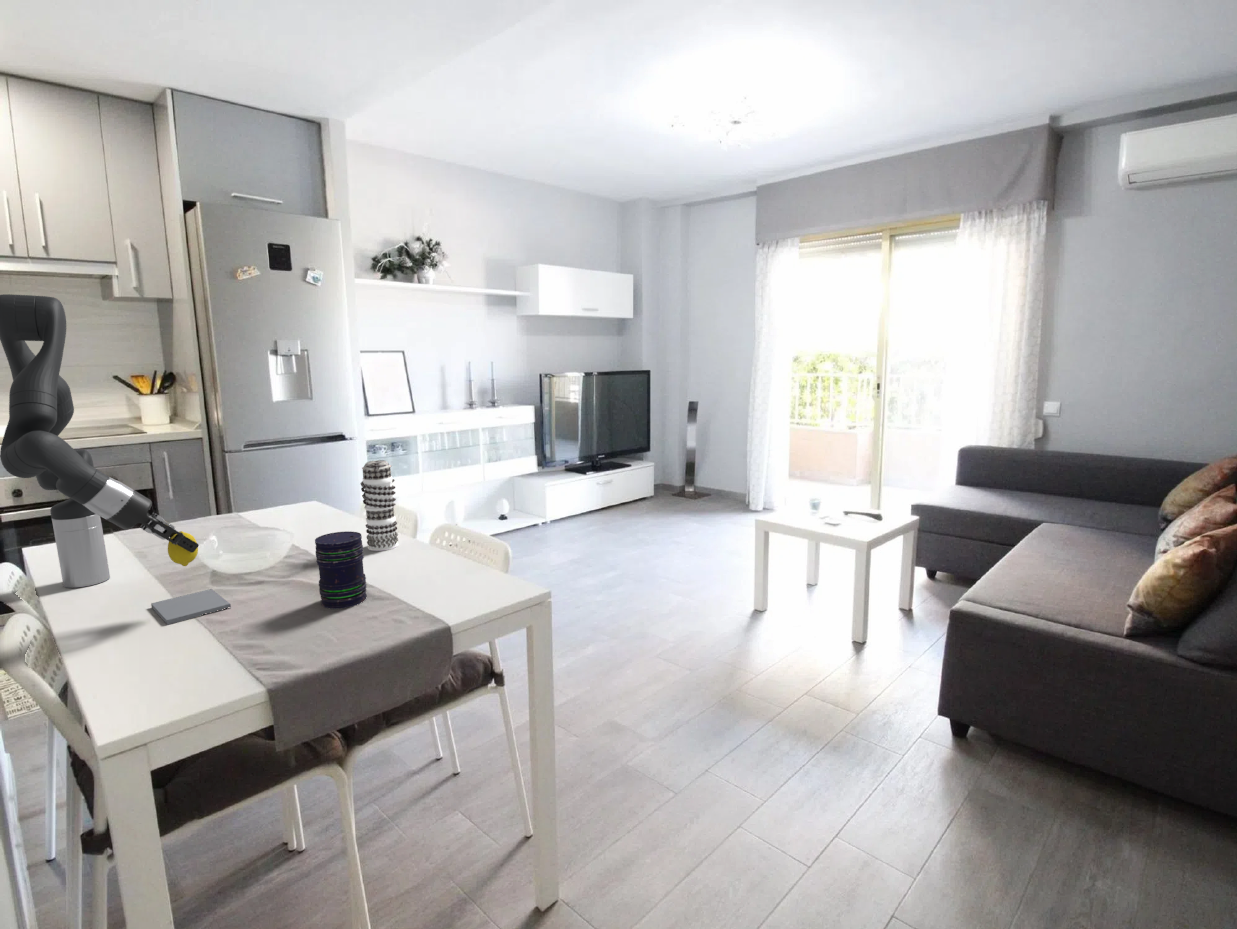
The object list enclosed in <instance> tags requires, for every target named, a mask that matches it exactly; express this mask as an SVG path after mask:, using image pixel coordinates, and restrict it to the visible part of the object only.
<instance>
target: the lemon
mask: <svg viewBox="0 0 1237 929" xmlns="http://www.w3.org/2000/svg"><path fill="white" fill-rule="evenodd" d="M178 532H180V533H183V535H184V536H186V537H187V538H189V539H191V540H192V541H194V542H196V543H197V540H196V538H195V537H194V535H192V534H191V533H188V532H184V531H183V530H180V531H178ZM176 535H177V534H175V535H174V536H172V537H171V539H173V538H174V537H175V536H176ZM197 544H198V543H197ZM198 553H199V547H198V548H197V549H196V550H195V551H194V552H192V553H191V552H189V551H187V550H186V549H184V548H182V547H180V546H179V545H175V544H172V542H170V541H168V544H167V554H168V557H169V558H170V560H171V561H172V562H173V563H175V564H178V565H181V566H182V567H187V566H188V565H189V564H190V563H192V562H193V561H194V560H195V559H196V558H197V555H198Z"/></svg>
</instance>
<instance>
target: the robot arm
mask: <svg viewBox="0 0 1237 929" xmlns="http://www.w3.org/2000/svg"><path fill="white" fill-rule="evenodd" d="M66 337H67V316H66V312H65V308H64V305H63V303H62V301H60V299H58V298H56V297H54V296H47V295H46V296H45V295H44V296H43V295H30V294H29V295H28V294H27V295H26V294H12V293H11V294H10V293H7V294H6V293H4V294H0V344H1V346H2V348H3V351H4V354H5V357H6V360H7V362H8V366H9V369H10V372H11V377H12V380H13V381H12V383H11V385H10V388H9V395H8V396H9V400H8V401H9V403H8V414H9V415H8V416H9V418H8V422H7V425H6V428H5V430H4V434H3V438H2V441H1V444H0V445H1V446H0V461H1V462H0V463H1V464H2V466H3V468H4V469H5V470H6V472H8V473H9V474H10V475H12V476H14V477H16V478H20V479H29V478H30V479H31V478H34V477H35V478H36V481H37V483H38V485H39V486H40V487H41V488H42V490H43V489H44V490H45V491H58V492H59V493H61V494H63V495H64V496H66V497H68V498H69V499H68V498H67V499H66V500H64V501H61V502H59V503H56V504H54V505H52V506H51V507H50V518H51V522H52V527H53V533H54V540H55V545H56V550H57V557H58V564H59V568H60V574H61V580H62V585H63V587H64V588H70V589H72V588H73V589H75V588H84V587H89V586H93V585H97V584H101V583H104V582H106V581H107V580H109V579H110V577H111V574H110V568H109V562H108V555H107V549H106V544H105V536H104V531H103V523H102V519H101V518H103V519H105V520H106V521H108V522H110V523H112V524H113V525H116V526H117V527H119V528H120V529H123V530H125V531H126V530H130V529H132V528H133V527H135V526H136V525H137V524H141V525H140V526H139V528H140V529H141V530H142V531H144V532H146V533H148V534H152V535H154V536H156V537H157V538H159V539H160V540H162V541H165V540H166V541H168V542H169V541H170V542H172V544H175V545H179V546H180V547H182V548H184V549H186V550H187V551H189V552H191V553H192V552H194V551H195V550H196V549H197V548H198V549H199V545H200V544H199V543H196V542H197V541H196V542H194V541H192V540H191V539H189V538H187V537H186V536H184V535H183V533H180V532H179V531H178V530H176V527H175V525H173V524H171V523H170V522H169V521H166V520H165V519H164V517H162V516H161V515H159V514H157V513H155V512H152V513H151V514H150V512H149V511H150V510H151V507H152V505H153V502H152V500H151V499H150V498H149V497H147V496H145V495H143V494H141V493H140V492H138V491H136V490H135V489H134V488H132V487H129V485H127V484H125V483H123V482H122V481H119V480H117V479H115V478H112V477H110V476H109V475H108V474H105V473H104V472H102V471H100V470H99V469H97V468H96V467H95V466H94V460H93V457H92V455H91V454H90V452H89V451H88V450H86V449H74V447H72V446H71V445H70V444H69V443H68V442H67V441H65V439H64V438H62V437H60V436H59V435H60V434H61V433H62V432H63V431H64V430H65V429H66V427H67V426H68V424H69V423H70V421H71V419H73V416H74V414H75V406H74V401H73V396H72V392H71V388H70V386H69V384H68V383H67V381H66V380H65V379H64V377H62V376H61V375H60V372H61V366H62V360H63V355H64V348H65V343H66ZM27 342H43V343H42V346H41V348H40V349H39V351H38V352H37V354H35V353H34V352H33V351H32V350H31V348H30V347H29V345H28V344H27ZM175 534H177V535H176V536H175V537H174V538H173V539H171V537H172V536H174V535H175Z"/></svg>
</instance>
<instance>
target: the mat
mask: <svg viewBox="0 0 1237 929" xmlns="http://www.w3.org/2000/svg"><path fill="white" fill-rule="evenodd" d="M150 606H151V608H152V609H153V611H154V612H155V613H156V614H157V615H158V616H159V617H160V619H161V620H163V622H164V623H165V624H166V625H167V626H169V625H173V624H176V623H179V622H183V621H187V620H190V619H195V618H198V617H197V616H199V615H202V614H205V613H210V612H214V613H216V612H215V611H217V610H221V611H223V610H222V609H224V608H228V607H231V608H232V606H231V602H229V601H228V600H226V599H225V598H224V597H223V596H222V595H220V594H219V593H218V592H216V591H215V590H214V589H213V588H210V589H209V588H208V589H205V590H201V591H196V592H193V593H188V594H185V595H184V594H183V595H179V596H175V597H172V598H167V599H164V600H163V599H162V600H159V601H156V602H151V603H150ZM210 614H211V613H210ZM199 617H200V616H199Z"/></svg>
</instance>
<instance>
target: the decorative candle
mask: <svg viewBox="0 0 1237 929" xmlns="http://www.w3.org/2000/svg"><path fill="white" fill-rule="evenodd" d="M391 467H392V464H391V465H390V464H389V462H388V461H387V460H383V459H382V460H381V459H378V460H370V461H367V462H365V463H364V466H362V467H361V469H362V481H361V482H360V484H359V485H360V486H361V492H362V495H361V496H362V499H363V500H362V504H364V505H365V506H364V508H363V509H364V510H365V512H366V515H365V516H366V518H365V521H366V522H365V523H366V524H365V528H366V530H365V532H366V533H367V535H366V537H365V538H366V540H367V541H366V543H367V545H368V546H367V550H369V551H375V552H381V551H389V550H392V549H395V548H398V546H399V543H398V542H399V537H398V535H399V534H398V532H397V530H398V526H397V525H398V522H397V521H396V515H395V510H394V508H395V507H396V505H397V504H396V503H395V501H396V498H395V497H393V496H394V495H396V491H395V489H396V486H395V485H393V484H392V483H394V482H395V479H393V475H392V470H391Z"/></svg>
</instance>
